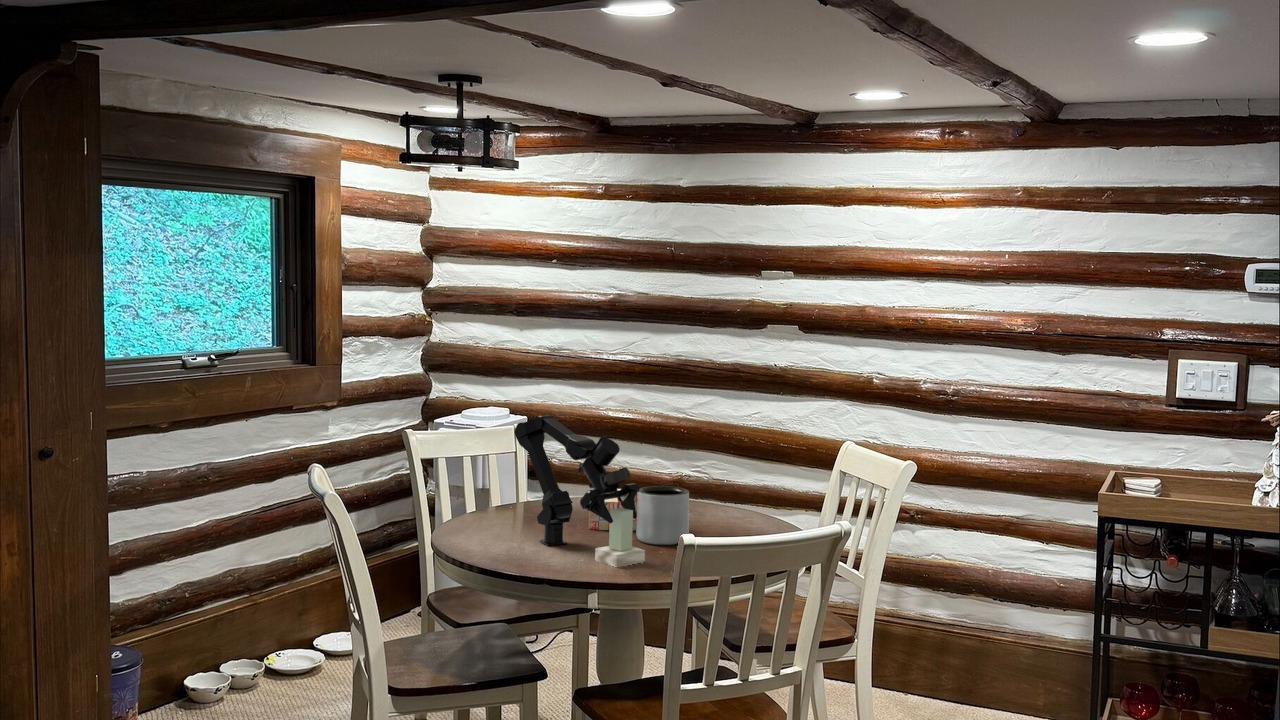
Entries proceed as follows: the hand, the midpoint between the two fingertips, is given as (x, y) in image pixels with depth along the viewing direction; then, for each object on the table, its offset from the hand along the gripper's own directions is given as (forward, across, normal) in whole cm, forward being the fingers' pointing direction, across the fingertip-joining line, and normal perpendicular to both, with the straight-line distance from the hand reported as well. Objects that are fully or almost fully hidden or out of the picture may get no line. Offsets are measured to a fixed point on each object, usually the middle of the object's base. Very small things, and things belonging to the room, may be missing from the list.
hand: (624, 520), depth 313 cm
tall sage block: (+5, 0, +7) cm, 9 cm away
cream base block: (+8, 0, +10) cm, 13 cm away
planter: (0, +28, +17) cm, 33 cm away
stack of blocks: (-14, +30, +32) cm, 46 cm away
